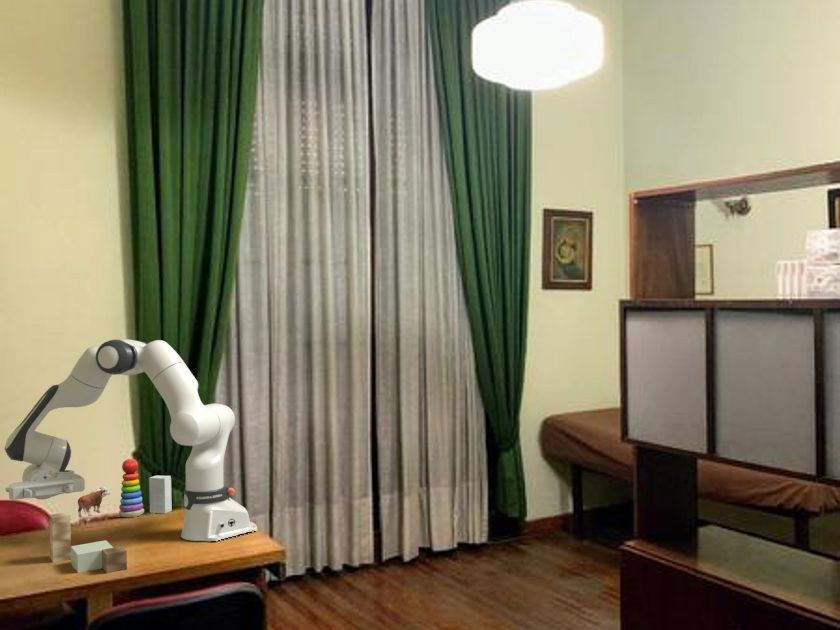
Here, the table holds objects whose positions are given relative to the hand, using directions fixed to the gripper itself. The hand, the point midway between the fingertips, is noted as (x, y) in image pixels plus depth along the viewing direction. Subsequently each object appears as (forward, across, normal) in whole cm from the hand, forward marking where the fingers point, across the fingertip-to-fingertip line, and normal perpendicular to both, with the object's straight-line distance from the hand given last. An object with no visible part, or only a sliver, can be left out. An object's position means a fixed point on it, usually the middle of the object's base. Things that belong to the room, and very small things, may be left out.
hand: (51, 492), depth 222 cm
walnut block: (+30, +10, +16) cm, 36 cm away
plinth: (+23, +6, +16) cm, 29 cm away
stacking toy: (-24, +28, +16) cm, 40 cm away
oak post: (+12, 0, +16) cm, 20 cm away
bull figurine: (-34, +18, +16) cm, 42 cm away
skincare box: (-22, +37, +16) cm, 46 cm away
